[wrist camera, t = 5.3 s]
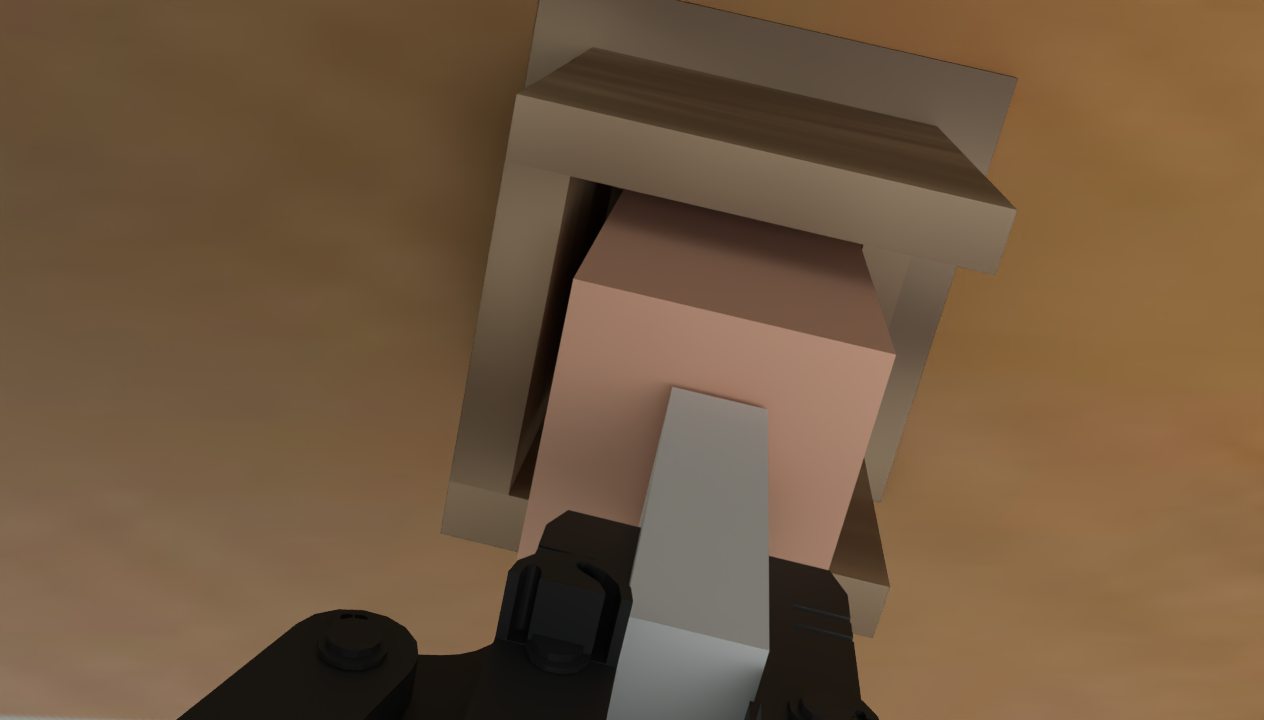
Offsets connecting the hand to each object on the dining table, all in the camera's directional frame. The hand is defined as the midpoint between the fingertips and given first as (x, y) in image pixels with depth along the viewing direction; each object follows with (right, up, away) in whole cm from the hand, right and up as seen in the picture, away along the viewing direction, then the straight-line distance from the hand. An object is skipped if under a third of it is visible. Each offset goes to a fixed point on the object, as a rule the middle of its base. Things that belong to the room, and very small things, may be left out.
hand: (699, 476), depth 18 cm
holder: (+1, +5, +13) cm, 14 cm away
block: (+1, +4, +11) cm, 12 cm away
